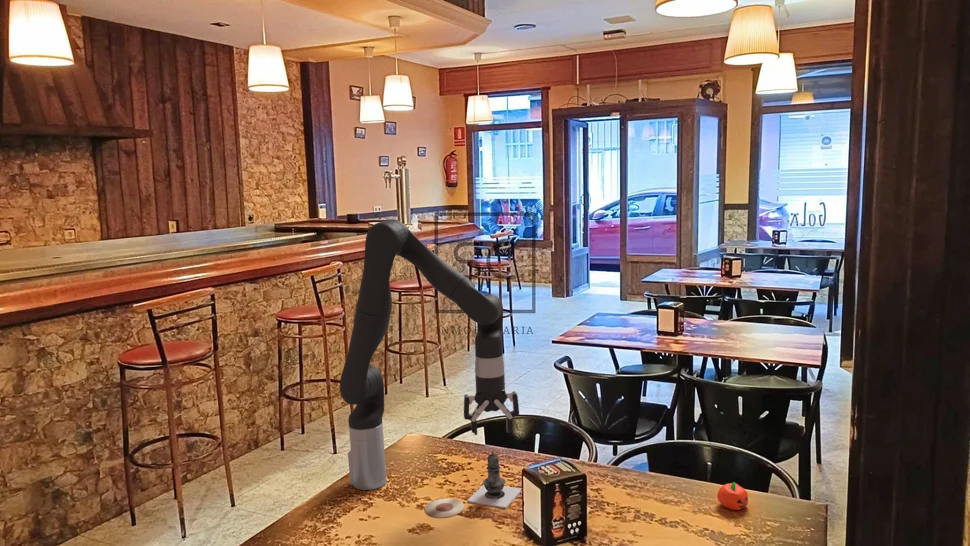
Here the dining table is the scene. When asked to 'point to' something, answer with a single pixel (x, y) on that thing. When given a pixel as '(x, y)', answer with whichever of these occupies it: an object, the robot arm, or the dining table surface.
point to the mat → (501, 502)
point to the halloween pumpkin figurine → (733, 496)
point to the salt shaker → (494, 479)
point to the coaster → (444, 508)
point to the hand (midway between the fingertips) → (492, 432)
